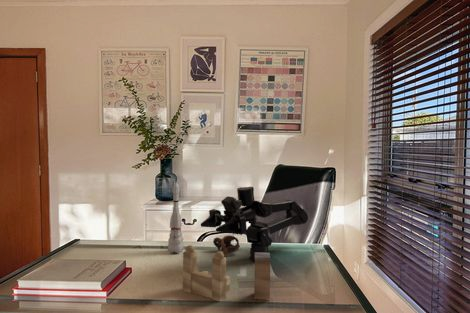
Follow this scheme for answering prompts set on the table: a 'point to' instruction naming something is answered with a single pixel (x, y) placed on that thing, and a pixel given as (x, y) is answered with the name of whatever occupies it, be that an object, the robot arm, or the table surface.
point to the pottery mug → (226, 244)
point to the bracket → (262, 276)
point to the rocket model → (175, 225)
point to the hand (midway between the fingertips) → (208, 227)
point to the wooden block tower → (205, 276)
